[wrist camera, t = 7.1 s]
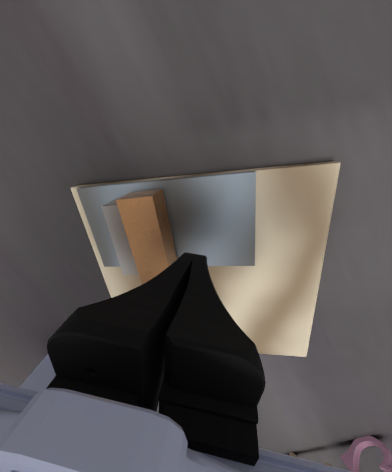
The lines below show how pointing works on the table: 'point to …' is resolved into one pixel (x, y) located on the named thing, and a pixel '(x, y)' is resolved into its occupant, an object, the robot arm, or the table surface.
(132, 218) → the bar
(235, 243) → the door frame board
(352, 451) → the decorative key
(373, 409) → the table surface
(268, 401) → the table surface
